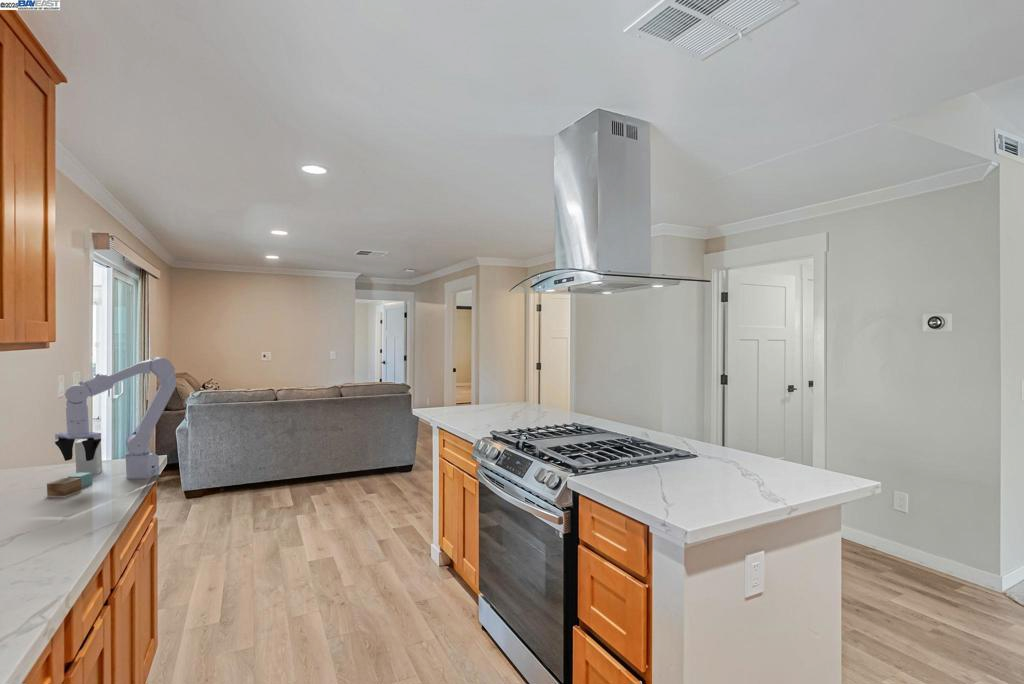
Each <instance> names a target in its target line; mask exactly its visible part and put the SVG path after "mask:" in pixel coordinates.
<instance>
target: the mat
mask: <svg viewBox="0 0 1024 684" xmlns="http://www.w3.org/2000/svg"><path fill="white" fill-rule="evenodd" d="M84 490H85V488H84V489H83V488H82V490H80V491H78V492H75V493H72V494H70V495H67V496H47V495H45V496H44V497H45V498H47V497H50V498H51V497H53V498H57V497H59V498H66V497H69V496H71V495H75V494H77V493H80V492H81V491H84Z"/></svg>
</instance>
